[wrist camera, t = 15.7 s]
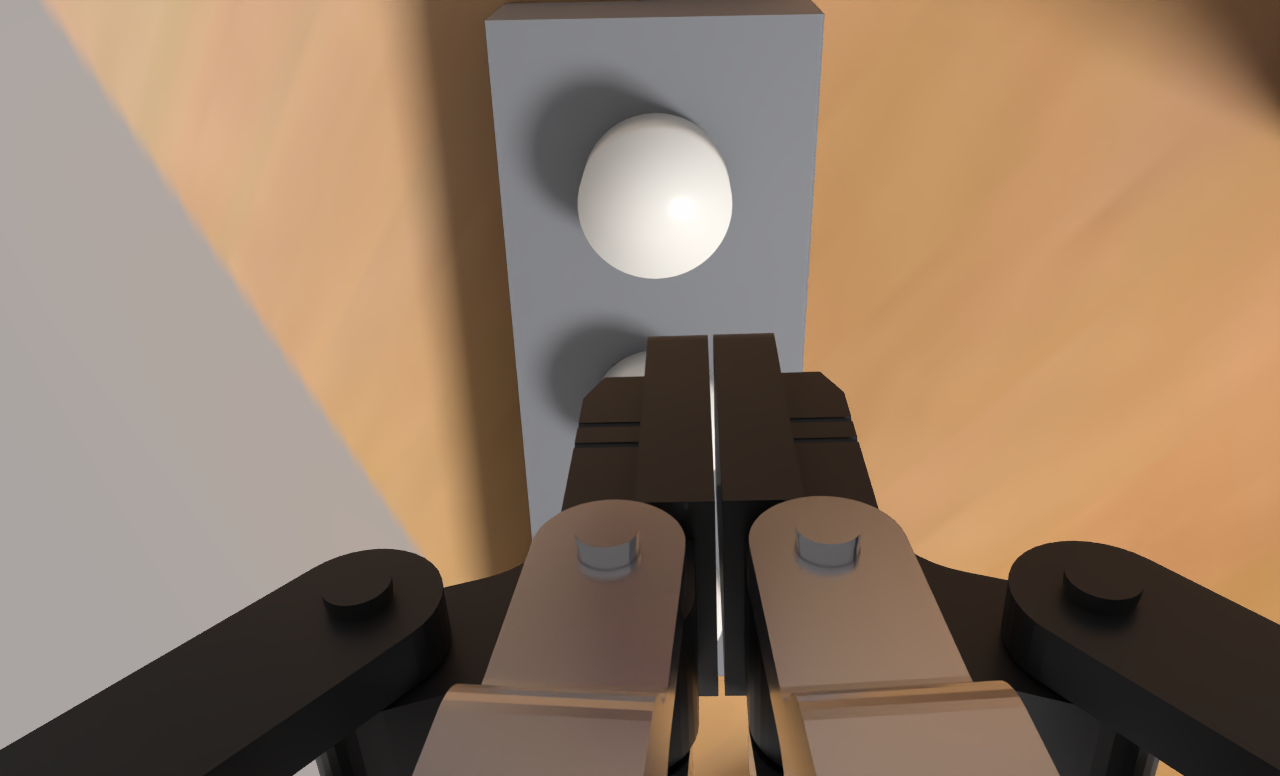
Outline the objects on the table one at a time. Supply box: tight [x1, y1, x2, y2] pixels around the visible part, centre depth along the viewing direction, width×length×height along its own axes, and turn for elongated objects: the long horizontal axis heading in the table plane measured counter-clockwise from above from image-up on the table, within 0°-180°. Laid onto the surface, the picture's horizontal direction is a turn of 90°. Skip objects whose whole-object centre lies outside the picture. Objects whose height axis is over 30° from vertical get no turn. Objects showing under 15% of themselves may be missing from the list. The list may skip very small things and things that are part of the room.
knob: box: [578, 113, 732, 279], centre depth 32 cm, size 5×5×6 cm
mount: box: [485, 0, 824, 676], centre depth 37 cm, size 10×26×4 cm, turn 1°
